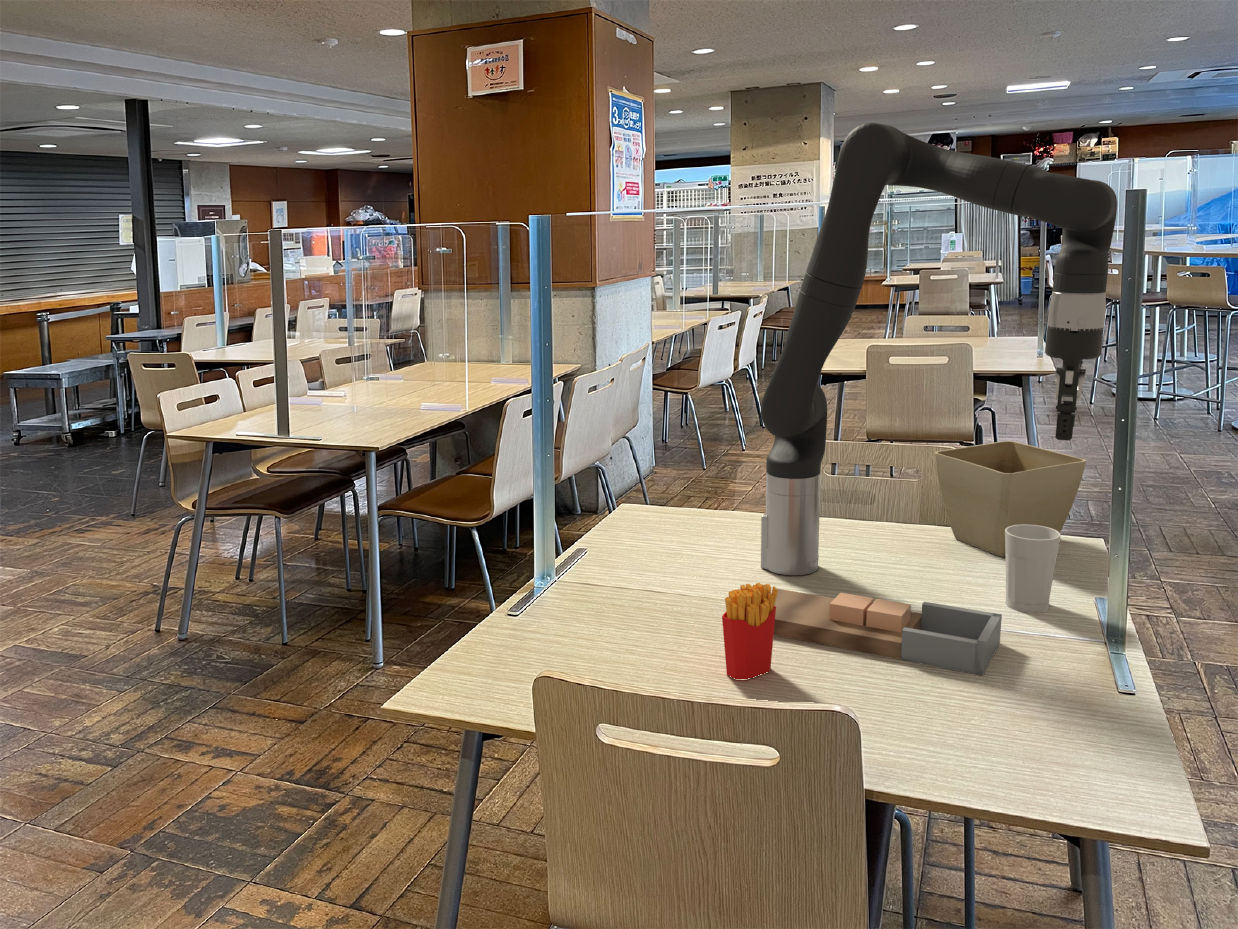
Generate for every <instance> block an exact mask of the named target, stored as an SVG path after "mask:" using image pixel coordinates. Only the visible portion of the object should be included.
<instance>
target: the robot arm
mask: <svg viewBox="0 0 1238 929" xmlns="http://www.w3.org/2000/svg"><path fill="white" fill-rule="evenodd" d="M840 147H841V148H840V150H839V154H838V156H837V162H836V166H835V171H834V177H833V181H832V186H831V192H830V197H829V201H828V204H827V208H826V212H825V214H824V217H823V220H822V223H821V226H820V229H819V231H818V235H817V238H816V241H815V244H814V246H813V250H812V253H811V256H810V259H809V262H808V264H807V267H806V269H805V273H804V276H803V279H802V283H801V286H800V289H799V292H798V297H797V299H796V304H795V307H794V310H793V313H792V317H791V319H790V323H789V326H788V331H787V334H786V338H785V342H784V345H783V347H782V352H781V353H780V356H779V359H778V362H777V364H776V366H775V368H774V370H773V373H772V375H771V378H770V380H769V382H768V384H767V386H766V388H765V390H764V391H765V392H764V393H763V396H762V398H761V402H760V417H761V422H762V424H763V426H764V427H765V429H766V430H767V431H768V433H770V434H771V435H772V436H774V441H773V445H772V446H771V449H770V451H769V453H768V454H767V457H766V462H765V465H766V466H765V467H766V468H765V472H766V475H765V476H766V478H765V480H766V481H765V513H764V514H762V515H761V519H760V520H761V522H760V524H761V525H760V528H761V529H760V530H761V531H760V540H761V541H760V568H761V569H766V570H767V571H769V572H772V573H774V574H779V575H785V576H803V575H809V574H813V573H814V572H817V570H818V568H819V560H820V558H819V549H820V548H819V546H820V511H821V510H820V509H821V473H822V472H821V470H822V469H821V467H822V462H823V459H824V456H825V452H826V445H827V444H826V443H827V442H826V441H827V426H828V402H827V397H826V394H825V391H824V390H823V388H822V387H821V386H820V385H819V380H820V376H821V372H822V370H823V367H824V365H825V363H826V361H827V359H828V357H829V355H830V353H831V352H832V350H833V349H834V348H835V345H836V344H837V343H838V341H839V339H840V337H841V336H842V335H843V333H844V331H845V329H846V327H847V326H848V324H849V322H850V320H851V318H852V315H853V313H854V312H855V308H856V306H857V303H858V300H859V298H860V294H861V291H862V289H863V288H862V287H863V284H864V281H865V276H866V273H867V266H868V258H869V257H868V255H869V238H870V229H871V226H872V222H873V217H874V214H875V211H876V209H877V206H878V203H879V201H880V199H881V196H882V194H883V191H884V189H885V187H886V186H895V187H896V186H897V187H898V186H899V187H909V188H910V187H911V188H919V189H924V190H925V189H926V190H930V191H934V192H938V193H942V194H944V195H945V194H946V195H948V196H951V197H954V198H956V199H959V200H961V201H964V202H967V203H970V204H972V205H976V206H979V207H982V208H987V209H991V210H994V211H998V212H1002V213H1006V214H1009V215H1014V216H1019V217H1024V218H1026V217H1027V218H1032V219H1035V220H1038V221H1040V222H1044V223H1047V224H1048V225H1052V226H1056V227H1059V228H1062V237H1061V246H1060V251H1059V253H1058V254H1057V256H1056V260H1055V264H1054V271H1053V272H1054V273H1053V282H1052V292H1051V298H1050V301H1049V306H1048V312H1047V314H1048V316H1047V326H1046V335H1045V336H1046V337H1045V346H1044V347H1045V348H1044V353H1045V355H1046V356H1047V357H1050V358H1055V359H1061V360H1062V367H1057V368H1056V370H1055V376H1054V381H1055V384H1056V385H1055V393H1054V398H1055V400H1056V401H1057V402H1056V405H1055V412H1056V414H1057V415H1056V428H1055V435H1054V436H1055V437H1054V438H1055V439H1056V440H1059V441H1067V442H1068V441H1071V440H1072V439H1073V432H1074V427H1075V421H1076V413H1077V411H1078V406H1077V404H1078V403H1079V402H1080V401H1081V399H1082V393H1083V386H1084V385H1085V382H1086V375H1087V374H1086V373H1087V369H1086V368H1082V365H1083V360H1094V359H1098V358H1100V357H1101V356H1102V352H1103V351H1102V350H1103V340H1104V333H1105V323H1106V312H1107V301H1106V299H1107V296H1106V295H1107V293H1106V292H1107V283H1108V273H1109V256H1110V255H1109V254H1110V250H1111V245H1112V240H1113V236H1114V231H1115V225H1116V219H1117V215H1118V212H1117V211H1118V198H1117V194H1116V192H1115V191H1114V189H1113V188H1112V187H1111V186H1110V185H1109V184H1108V183H1105V182H1103V181H1101V180H1095V179H1088V178H1082V177H1077V176H1071V175H1066V174H1061V173H1055V172H1049V171H1046V170H1045V169H1042V168H1040V167H1037V166H1033V165H1029V164H1025V163H1021V162H1016V161H1012V160H1007V159H1002V158H997V157H992V156H988V155H987V156H985V155H981V154H980V155H979V154H974V153H966V152H961V151H956V150H952V149H947V148H944V147H940V146H937V145H934V144H931V143H928V142H926V141H923V140H921V139H918V138H916V137H914V136H912V135H909V134H908V133H905V132H903V131H901V130H899V129H898V128H897V127H895V126H892V125H888V124H883V123H879V122H865V123H863V124H860V125H859V126H856V127H855V128H853V129H852V130H851V131H850V132H848V134H847V136H846V137H845V139H844V141H843V142H842V144H841V146H840Z"/></svg>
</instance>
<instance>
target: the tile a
mask: <svg viewBox="0 0 1238 929" xmlns="http://www.w3.org/2000/svg"><path fill="white" fill-rule="evenodd" d="M834 598H835V599H834V600H833V601H832V602H831V603H830V612H829V620H834V621H840V622H845V623H851V624H856V625H862V626H863V625H864V624H865V622H866V617H867V609H868V608H869V607H870V606H871V605H872V604H873V602H874V597H870V596H864V595H858V594H857V595H856V594H852V593H846V592H840V593H838V594H837V596H836V597H834Z"/></svg>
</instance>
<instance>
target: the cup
mask: <svg viewBox="0 0 1238 929" xmlns="http://www.w3.org/2000/svg"><path fill="white" fill-rule="evenodd" d="M1060 541H1061V532H1060V533H1059V532H1058V531H1057V530H1054V529H1052V528H1048V527H1044V526H1038V525H1013V526H1009V527H1007V528H1006V529H1005V549H1006V556H1005V605H1006V607H1007V608H1010V609H1011V610H1015V611H1017V612H1021V613H1028V614H1029V613H1031V614H1035V613H1037V614H1038V613H1039V614H1040V613H1044V612H1046V611H1048V610H1049V606H1050V597H1051V592H1052V586H1053V580H1054V575H1055V569H1056V562H1057V557H1058V552H1059V546H1060Z"/></svg>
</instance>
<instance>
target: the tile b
mask: <svg viewBox="0 0 1238 929" xmlns="http://www.w3.org/2000/svg"><path fill="white" fill-rule="evenodd" d="M911 609H912V604H910V603H905V602H898V601H893V600H887V599H881V598H876V599H875V600H873V604H872V605H871V606H870V607H869V608H868V609H867V617H866V626H867V627H873V628H878V629H884V630H889V631H895V632H900V633H901V632H902V630H903V629H904V627H906V625H907V624H908V623H909V621H910V613H911V612H912V611H911Z"/></svg>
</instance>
